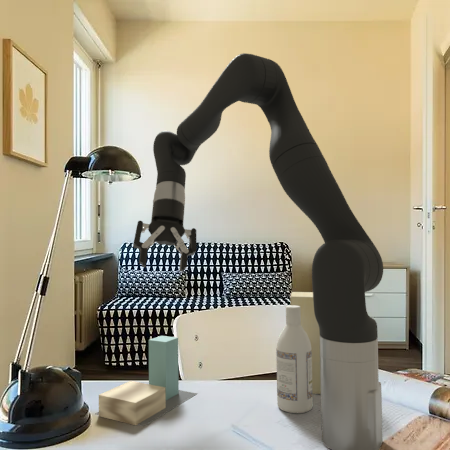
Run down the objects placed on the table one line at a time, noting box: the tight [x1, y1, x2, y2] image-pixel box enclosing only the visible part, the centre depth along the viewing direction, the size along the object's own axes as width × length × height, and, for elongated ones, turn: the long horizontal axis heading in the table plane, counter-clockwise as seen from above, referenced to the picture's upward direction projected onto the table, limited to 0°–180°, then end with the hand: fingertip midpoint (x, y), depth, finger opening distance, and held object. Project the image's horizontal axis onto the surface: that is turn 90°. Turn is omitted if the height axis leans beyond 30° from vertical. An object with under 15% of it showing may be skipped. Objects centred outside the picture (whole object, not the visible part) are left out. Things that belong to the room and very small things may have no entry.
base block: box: [98, 380, 166, 426], centre depth 83 cm, size 9×9×4 cm
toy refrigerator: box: [289, 291, 321, 395], centre depth 96 cm, size 8×7×21 cm
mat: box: [94, 389, 198, 427], centre depth 87 cm, size 12×18×1 cm, turn 152°
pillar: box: [148, 335, 180, 400], centre depth 92 cm, size 4×4×12 cm
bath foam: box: [275, 305, 314, 414], centre depth 85 cm, size 7×7×20 cm
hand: (163, 268), depth 95 cm, fingers open, 8 cm apart
